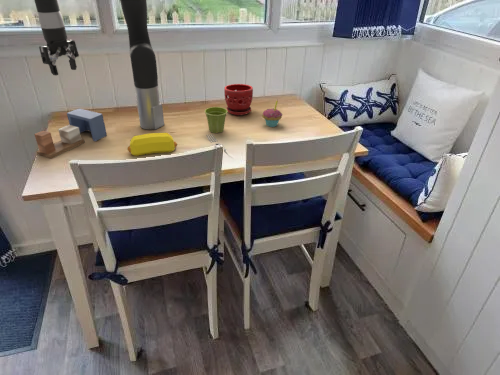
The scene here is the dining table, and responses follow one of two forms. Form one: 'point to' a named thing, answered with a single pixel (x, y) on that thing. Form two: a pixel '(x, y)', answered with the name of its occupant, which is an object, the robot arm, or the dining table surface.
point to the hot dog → (151, 144)
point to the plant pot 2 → (238, 98)
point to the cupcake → (272, 116)
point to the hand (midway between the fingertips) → (65, 72)
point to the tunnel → (88, 122)
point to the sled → (68, 141)
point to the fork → (214, 140)
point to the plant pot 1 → (216, 118)
